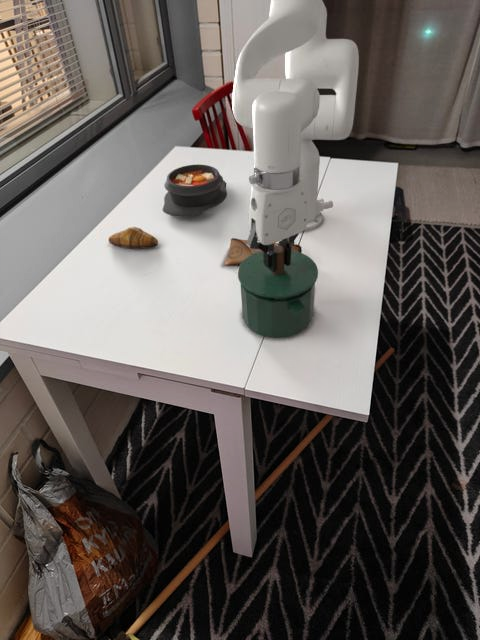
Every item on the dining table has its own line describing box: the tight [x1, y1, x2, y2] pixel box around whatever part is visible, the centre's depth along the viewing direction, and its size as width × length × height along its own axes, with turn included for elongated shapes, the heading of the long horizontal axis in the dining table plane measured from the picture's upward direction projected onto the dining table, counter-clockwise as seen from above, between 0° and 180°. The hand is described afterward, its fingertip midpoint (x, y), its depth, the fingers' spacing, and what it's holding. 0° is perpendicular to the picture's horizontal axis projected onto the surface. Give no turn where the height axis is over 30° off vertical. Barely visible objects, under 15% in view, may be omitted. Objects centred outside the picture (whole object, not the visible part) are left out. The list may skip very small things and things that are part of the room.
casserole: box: [162, 164, 228, 218], centre depth 134 cm, size 25×19×8 cm
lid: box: [237, 245, 319, 298], centre depth 89 cm, size 16×16×6 cm
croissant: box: [108, 226, 159, 250], centre depth 119 cm, size 14×7×5 cm, turn 79°
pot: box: [240, 283, 316, 339], centre depth 94 cm, size 15×20×10 cm
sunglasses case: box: [223, 237, 303, 267], centre depth 111 cm, size 18×7×7 cm
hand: (277, 264), depth 89 cm, fingers closed on lid, 2 cm apart
